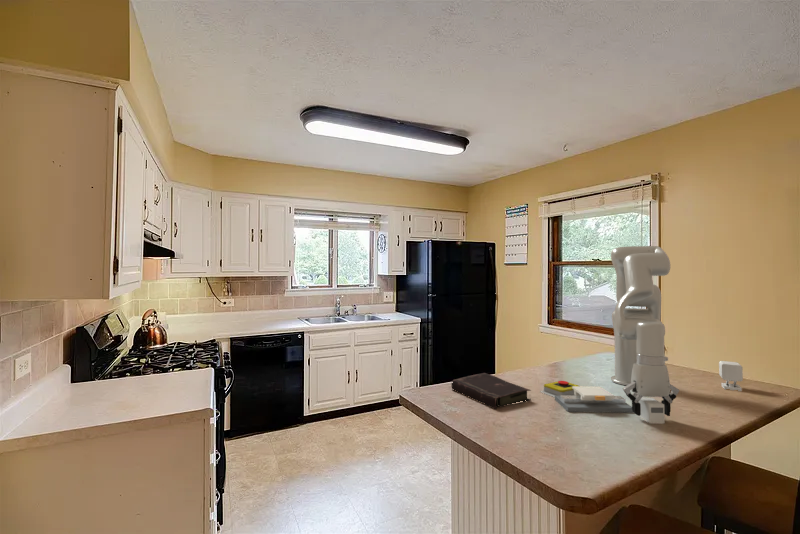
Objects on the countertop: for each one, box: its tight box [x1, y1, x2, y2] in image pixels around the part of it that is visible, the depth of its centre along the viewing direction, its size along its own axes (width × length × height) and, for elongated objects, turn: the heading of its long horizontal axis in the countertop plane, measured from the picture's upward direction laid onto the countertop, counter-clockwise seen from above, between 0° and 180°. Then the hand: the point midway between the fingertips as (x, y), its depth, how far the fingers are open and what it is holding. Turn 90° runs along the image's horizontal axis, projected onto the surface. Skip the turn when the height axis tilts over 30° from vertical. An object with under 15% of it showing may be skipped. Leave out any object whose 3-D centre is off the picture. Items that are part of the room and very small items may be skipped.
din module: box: [639, 397, 666, 424], centre depth 121 cm, size 4×6×6 cm
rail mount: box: [554, 395, 633, 413], centre depth 134 cm, size 22×12×3 cm, turn 87°
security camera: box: [718, 360, 744, 392], centre depth 153 cm, size 6×7×10 cm
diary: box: [451, 372, 532, 410], centre depth 146 cm, size 19×25×5 cm
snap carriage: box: [572, 385, 615, 401], centre depth 133 cm, size 10×11×2 cm
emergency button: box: [539, 380, 580, 399], centre depth 149 cm, size 9×4×15 cm
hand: (651, 414), depth 121 cm, fingers open, 8 cm apart
